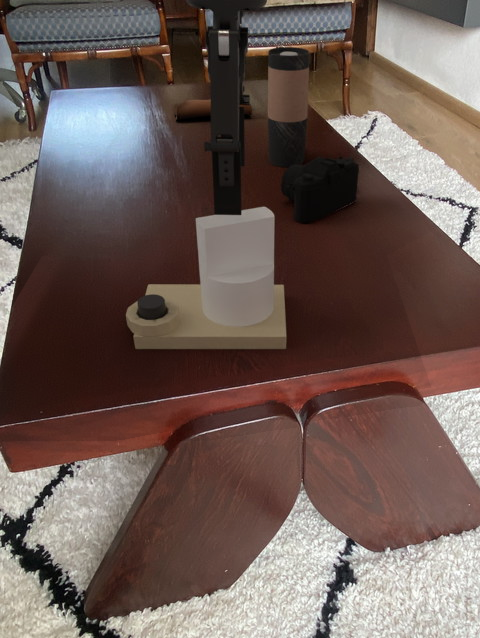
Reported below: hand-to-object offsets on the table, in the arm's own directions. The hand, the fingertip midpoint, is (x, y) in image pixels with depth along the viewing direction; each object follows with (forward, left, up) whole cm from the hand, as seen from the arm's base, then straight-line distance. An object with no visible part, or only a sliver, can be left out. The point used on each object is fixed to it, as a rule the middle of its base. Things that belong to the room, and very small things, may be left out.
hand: (230, 187), depth 67 cm
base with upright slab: (0, 0, -16) cm, 16 cm away
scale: (-3, -1, -17) cm, 18 cm away
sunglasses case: (-9, +87, -18) cm, 90 cm away
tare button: (-10, -4, -14) cm, 18 cm away
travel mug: (+8, +57, -18) cm, 61 cm away
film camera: (+12, +35, -18) cm, 41 cm away
